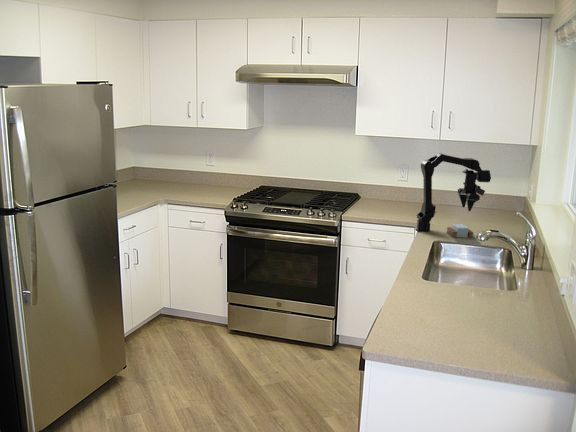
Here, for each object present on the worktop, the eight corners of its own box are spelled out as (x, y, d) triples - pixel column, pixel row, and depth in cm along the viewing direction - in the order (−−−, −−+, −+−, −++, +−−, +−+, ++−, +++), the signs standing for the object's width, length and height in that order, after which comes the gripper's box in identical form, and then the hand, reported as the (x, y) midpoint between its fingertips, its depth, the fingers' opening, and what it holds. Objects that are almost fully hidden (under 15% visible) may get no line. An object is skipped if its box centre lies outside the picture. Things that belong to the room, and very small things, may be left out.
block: (456, 236, 322) (457, 228, 321) (451, 232, 330) (452, 224, 329) (467, 237, 323) (468, 228, 322) (462, 233, 331) (463, 224, 329)
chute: (451, 238, 321) (452, 232, 320) (445, 233, 331) (446, 227, 330) (473, 238, 322) (474, 232, 321) (467, 233, 332) (467, 227, 331)
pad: (459, 244, 310) (459, 243, 310) (451, 238, 321) (451, 237, 321) (482, 244, 310) (482, 244, 310) (473, 238, 322) (473, 237, 322)
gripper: (491, 185, 321) (486, 213, 325) (478, 179, 339) (474, 206, 343) (470, 184, 320) (467, 212, 324) (459, 178, 338) (455, 205, 342)
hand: (466, 209), depth 333 cm, fingers open, 9 cm apart
